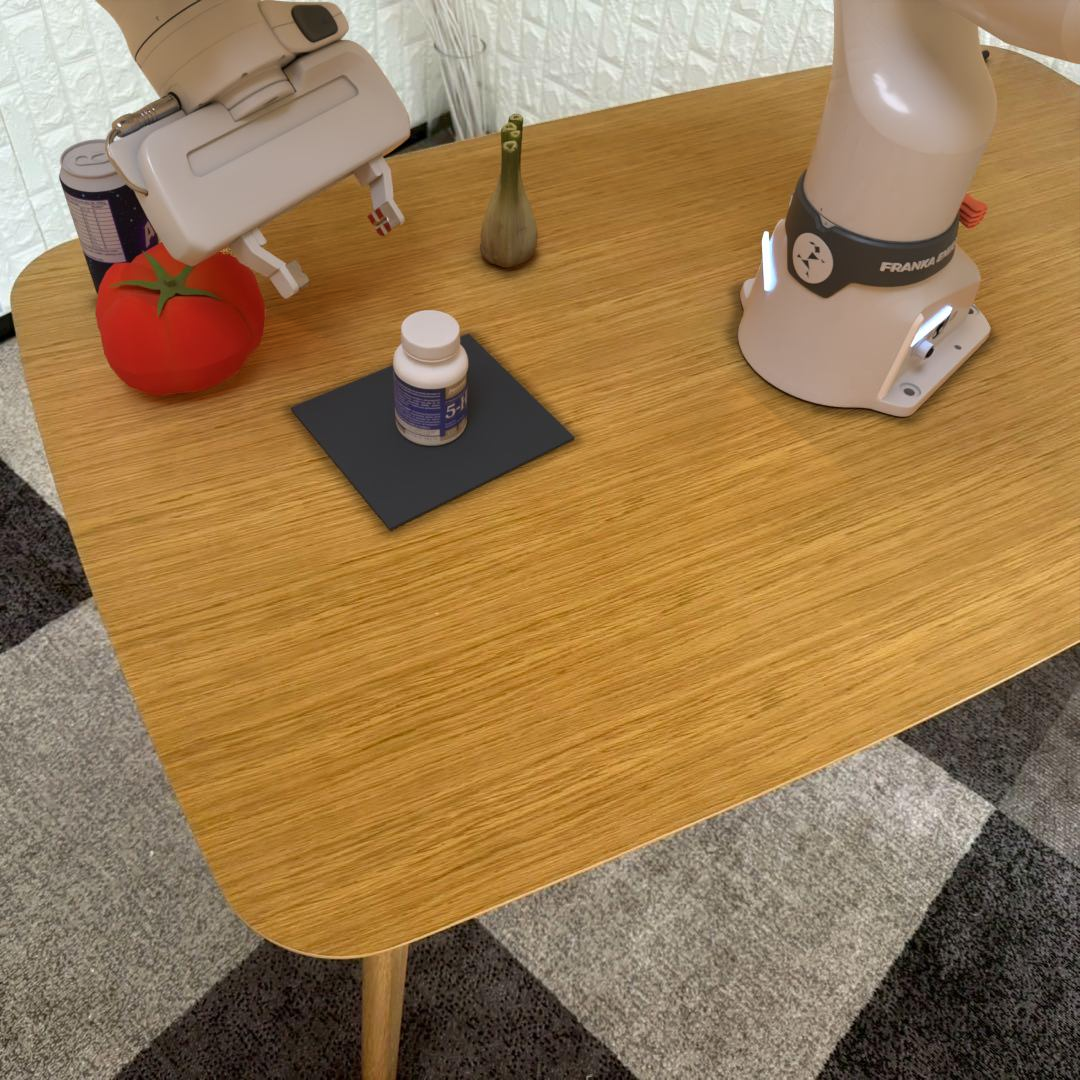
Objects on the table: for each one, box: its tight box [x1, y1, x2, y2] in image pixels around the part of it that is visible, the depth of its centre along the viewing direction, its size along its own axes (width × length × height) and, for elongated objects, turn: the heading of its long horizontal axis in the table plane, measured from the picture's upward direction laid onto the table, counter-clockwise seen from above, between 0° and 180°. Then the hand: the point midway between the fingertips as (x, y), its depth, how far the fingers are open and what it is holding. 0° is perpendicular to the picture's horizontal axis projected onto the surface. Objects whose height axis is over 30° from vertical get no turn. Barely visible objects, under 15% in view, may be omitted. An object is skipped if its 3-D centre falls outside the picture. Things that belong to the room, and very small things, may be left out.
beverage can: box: [58, 138, 160, 295], centre depth 78 cm, size 6×6×12 cm
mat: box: [290, 333, 575, 532], centre depth 76 cm, size 16×14×1 cm
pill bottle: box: [392, 309, 468, 446], centre depth 72 cm, size 5×5×9 cm
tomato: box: [94, 242, 266, 397], centre depth 75 cm, size 13×12×8 cm
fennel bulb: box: [479, 113, 539, 268], centre depth 85 cm, size 6×5×12 cm
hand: (347, 259), depth 70 cm, fingers open, 8 cm apart
